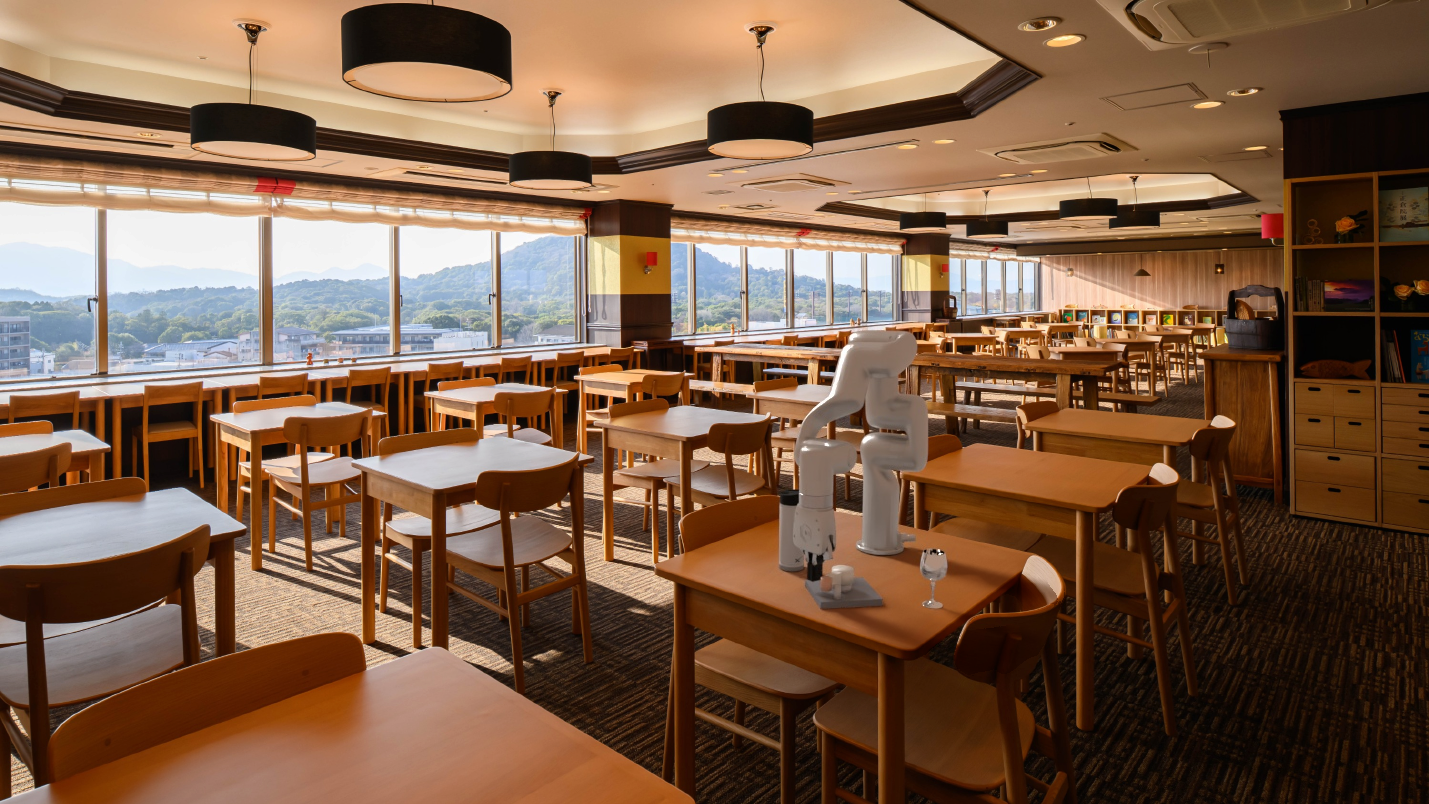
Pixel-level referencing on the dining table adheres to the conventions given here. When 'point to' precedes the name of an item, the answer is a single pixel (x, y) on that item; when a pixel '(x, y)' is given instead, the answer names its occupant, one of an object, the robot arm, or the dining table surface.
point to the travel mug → (789, 533)
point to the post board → (845, 594)
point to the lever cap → (837, 577)
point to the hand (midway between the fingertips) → (814, 579)
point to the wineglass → (933, 571)
